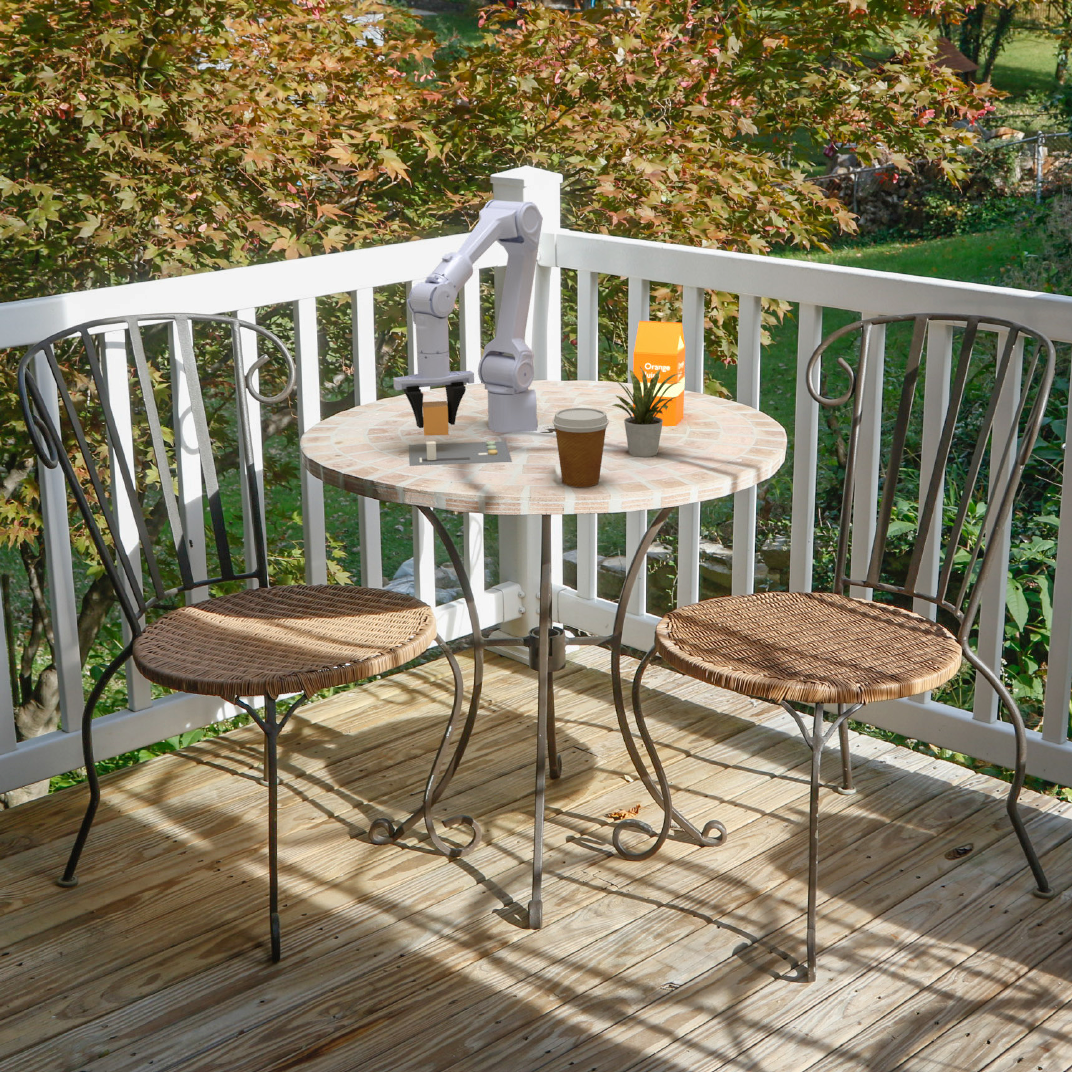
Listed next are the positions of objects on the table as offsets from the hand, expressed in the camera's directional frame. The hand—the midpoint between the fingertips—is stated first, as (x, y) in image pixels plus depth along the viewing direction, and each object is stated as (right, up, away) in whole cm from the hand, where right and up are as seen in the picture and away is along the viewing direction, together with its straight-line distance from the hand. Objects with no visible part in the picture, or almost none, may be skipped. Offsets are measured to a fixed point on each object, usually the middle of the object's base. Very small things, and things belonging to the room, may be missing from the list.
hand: (435, 425), depth 237 cm
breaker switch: (0, -6, -5) cm, 8 cm away
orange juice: (+43, +3, +26) cm, 50 cm away
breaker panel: (+4, -6, -1) cm, 8 cm away
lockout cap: (0, -1, 0) cm, 1 cm away
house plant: (+39, -5, +3) cm, 40 cm away
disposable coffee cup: (+26, -11, -14) cm, 31 cm away
